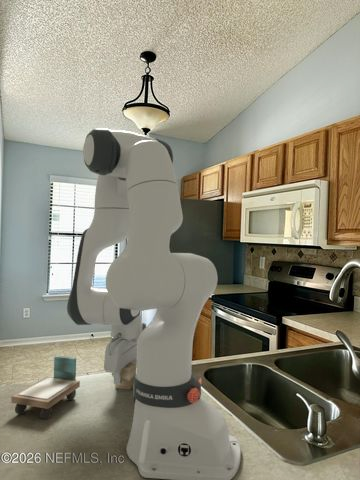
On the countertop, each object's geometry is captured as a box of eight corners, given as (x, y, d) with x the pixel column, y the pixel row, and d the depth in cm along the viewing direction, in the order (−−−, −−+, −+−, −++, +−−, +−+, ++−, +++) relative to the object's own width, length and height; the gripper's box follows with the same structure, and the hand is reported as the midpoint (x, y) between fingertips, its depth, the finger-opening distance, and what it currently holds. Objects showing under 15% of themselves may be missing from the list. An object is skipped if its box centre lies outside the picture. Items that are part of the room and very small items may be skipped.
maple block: (135, 383, 99) (136, 363, 99) (129, 389, 95) (130, 368, 95) (121, 381, 100) (122, 361, 100) (115, 387, 96) (115, 366, 96)
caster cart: (81, 395, 90) (82, 358, 90) (47, 421, 76) (48, 377, 76) (49, 391, 92) (50, 354, 93) (10, 415, 79) (12, 372, 79)
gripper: (120, 339, 87) (119, 393, 87) (148, 323, 107) (147, 367, 106) (98, 337, 89) (97, 390, 88) (130, 321, 108) (129, 365, 108)
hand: (124, 377), depth 98 cm, fingers open, 8 cm apart
